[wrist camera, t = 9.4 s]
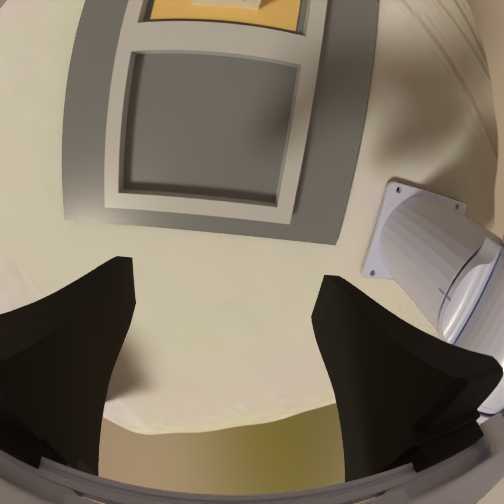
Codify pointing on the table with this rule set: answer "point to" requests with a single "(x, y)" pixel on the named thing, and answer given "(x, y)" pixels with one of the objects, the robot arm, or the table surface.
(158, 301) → the table surface
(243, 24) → the grey flat tray
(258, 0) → the plug
